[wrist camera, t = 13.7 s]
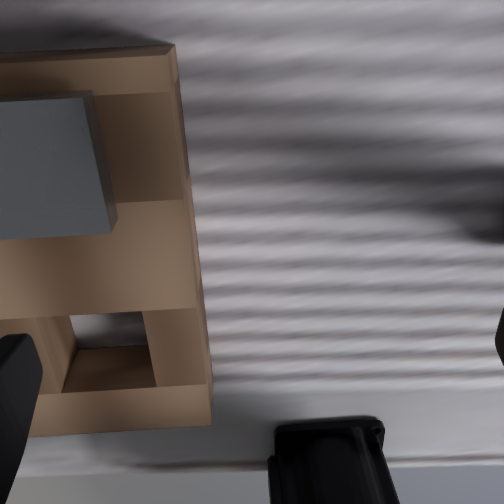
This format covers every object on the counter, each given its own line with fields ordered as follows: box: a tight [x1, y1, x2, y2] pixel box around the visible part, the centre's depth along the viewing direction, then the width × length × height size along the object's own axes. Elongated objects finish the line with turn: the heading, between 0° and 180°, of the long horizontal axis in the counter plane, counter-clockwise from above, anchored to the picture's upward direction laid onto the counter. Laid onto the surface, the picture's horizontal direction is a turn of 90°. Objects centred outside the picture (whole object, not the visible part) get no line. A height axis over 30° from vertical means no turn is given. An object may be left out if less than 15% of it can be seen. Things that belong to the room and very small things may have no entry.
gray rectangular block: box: [0, 90, 118, 240], centre depth 17 cm, size 4×4×5 cm
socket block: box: [0, 44, 213, 437], centre depth 20 cm, size 9×17×3 cm, turn 2°
